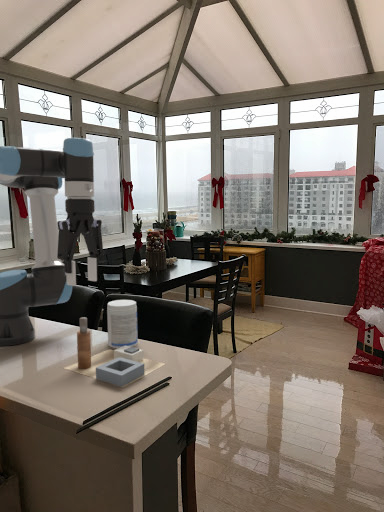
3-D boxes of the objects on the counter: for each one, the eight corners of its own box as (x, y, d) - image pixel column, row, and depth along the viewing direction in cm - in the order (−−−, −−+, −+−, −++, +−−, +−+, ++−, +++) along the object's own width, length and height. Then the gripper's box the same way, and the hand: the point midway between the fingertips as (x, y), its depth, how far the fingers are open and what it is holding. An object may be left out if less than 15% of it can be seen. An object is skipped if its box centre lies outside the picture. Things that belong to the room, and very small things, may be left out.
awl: (75, 367, 115) (73, 318, 113) (84, 363, 118) (83, 315, 116) (84, 370, 113) (82, 320, 111) (93, 365, 116) (92, 317, 115)
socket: (96, 378, 108) (95, 367, 108) (119, 367, 115) (119, 356, 115) (121, 386, 103) (121, 375, 103) (144, 374, 111) (144, 363, 110)
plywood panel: (63, 371, 115) (63, 368, 114) (109, 352, 130) (108, 349, 130) (123, 391, 103) (123, 387, 103) (165, 367, 118) (165, 363, 118)
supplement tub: (143, 346, 135) (142, 302, 133) (119, 353, 128) (118, 308, 127) (126, 339, 142) (125, 297, 140) (102, 345, 135) (101, 302, 133)
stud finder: (114, 360, 121) (113, 348, 120) (125, 354, 125) (125, 343, 124) (132, 365, 117) (132, 353, 116) (143, 359, 121) (143, 348, 121)
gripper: (59, 197, 99) (62, 290, 102) (115, 198, 116) (117, 278, 119) (39, 197, 103) (42, 287, 106) (96, 198, 120) (98, 276, 123)
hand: (82, 282), depth 113 cm, fingers open, 7 cm apart
